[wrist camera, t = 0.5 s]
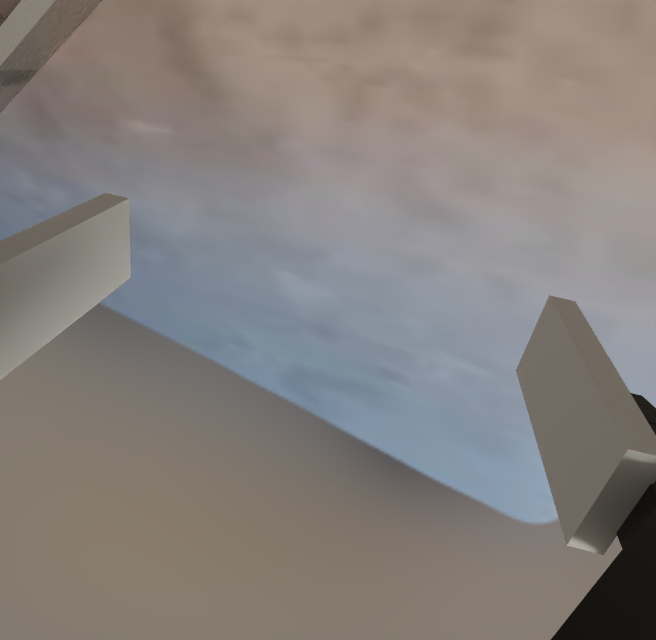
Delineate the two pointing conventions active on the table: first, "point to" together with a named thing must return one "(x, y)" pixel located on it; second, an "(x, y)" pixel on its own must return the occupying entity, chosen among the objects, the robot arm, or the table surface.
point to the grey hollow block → (35, 38)
